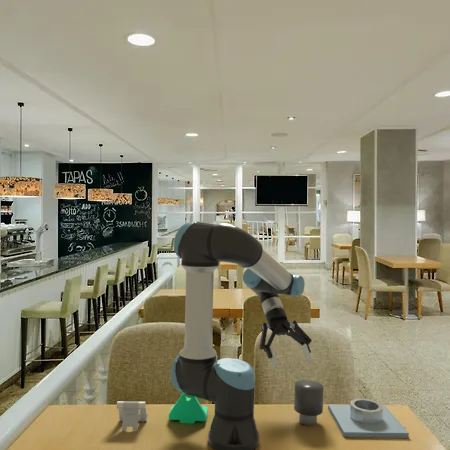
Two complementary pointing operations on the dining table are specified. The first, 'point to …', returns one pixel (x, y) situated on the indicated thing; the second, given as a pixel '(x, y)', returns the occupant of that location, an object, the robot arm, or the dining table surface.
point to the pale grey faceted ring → (366, 411)
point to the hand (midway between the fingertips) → (293, 364)
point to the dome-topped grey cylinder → (308, 401)
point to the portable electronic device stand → (131, 413)
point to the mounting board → (354, 429)
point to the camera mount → (188, 410)
